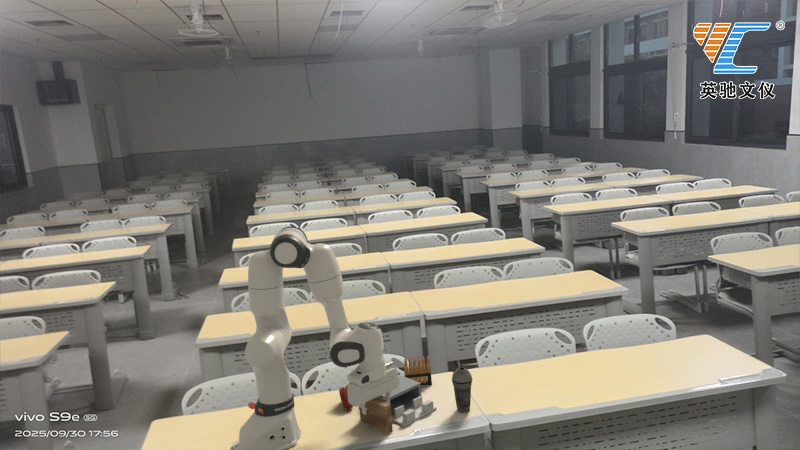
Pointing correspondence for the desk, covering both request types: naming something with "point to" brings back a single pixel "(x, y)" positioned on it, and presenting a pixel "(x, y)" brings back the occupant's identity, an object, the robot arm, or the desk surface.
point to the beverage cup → (462, 388)
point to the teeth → (345, 398)
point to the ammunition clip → (421, 373)
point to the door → (378, 415)
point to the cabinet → (408, 402)
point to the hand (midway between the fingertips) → (376, 408)
